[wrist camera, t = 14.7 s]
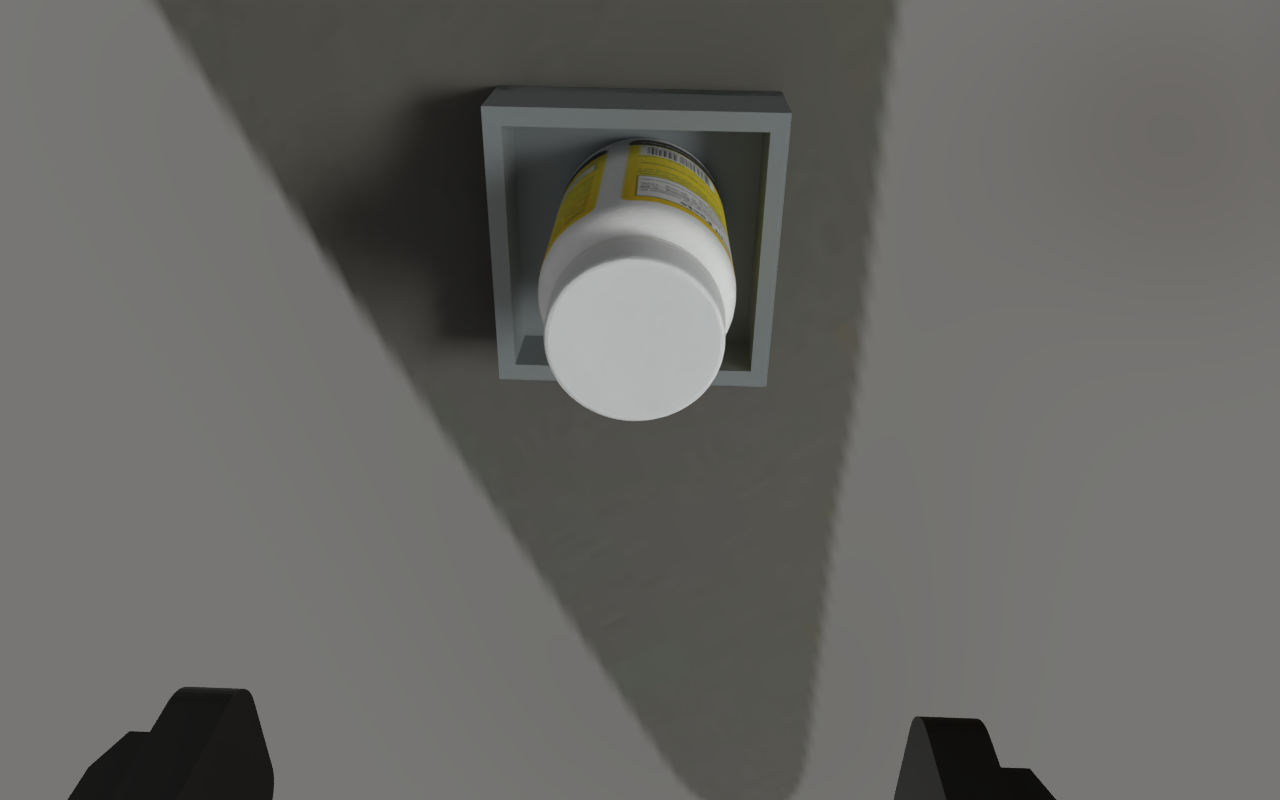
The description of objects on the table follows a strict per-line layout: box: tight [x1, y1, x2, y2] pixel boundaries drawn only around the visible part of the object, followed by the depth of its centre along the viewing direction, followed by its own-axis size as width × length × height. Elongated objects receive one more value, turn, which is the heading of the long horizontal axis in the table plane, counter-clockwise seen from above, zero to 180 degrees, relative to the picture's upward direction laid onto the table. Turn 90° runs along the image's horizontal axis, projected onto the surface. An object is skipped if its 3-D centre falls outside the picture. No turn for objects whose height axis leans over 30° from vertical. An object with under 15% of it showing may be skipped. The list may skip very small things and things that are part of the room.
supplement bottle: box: [538, 138, 736, 421], centre depth 24 cm, size 5×5×8 cm
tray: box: [481, 86, 792, 387], centre depth 27 cm, size 8×8×3 cm
